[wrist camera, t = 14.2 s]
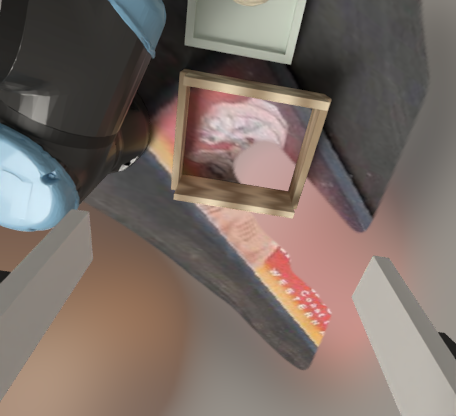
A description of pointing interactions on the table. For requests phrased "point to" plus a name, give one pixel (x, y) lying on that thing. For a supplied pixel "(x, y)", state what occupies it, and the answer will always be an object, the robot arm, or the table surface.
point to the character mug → (250, 2)
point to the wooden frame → (235, 192)
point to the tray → (245, 28)
